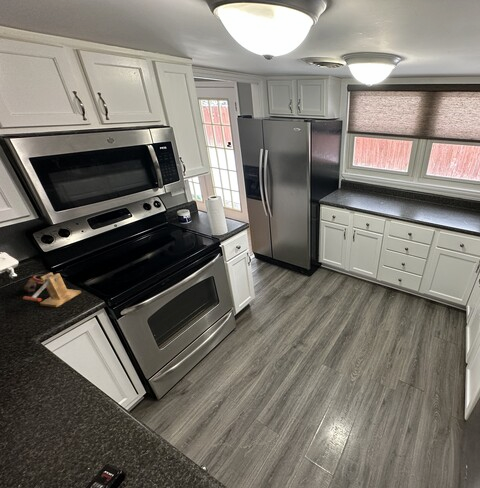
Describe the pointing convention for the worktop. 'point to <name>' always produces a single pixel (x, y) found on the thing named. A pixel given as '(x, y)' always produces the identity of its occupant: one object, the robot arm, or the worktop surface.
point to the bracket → (57, 291)
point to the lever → (38, 291)
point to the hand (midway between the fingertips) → (2, 282)
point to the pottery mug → (33, 283)
